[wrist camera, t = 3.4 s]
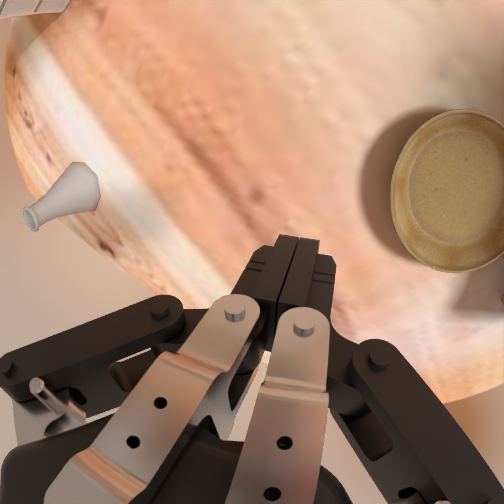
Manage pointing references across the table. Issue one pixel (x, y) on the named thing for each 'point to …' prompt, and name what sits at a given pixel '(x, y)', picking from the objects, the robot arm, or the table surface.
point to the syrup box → (30, 7)
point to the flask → (65, 196)
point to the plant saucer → (451, 191)
